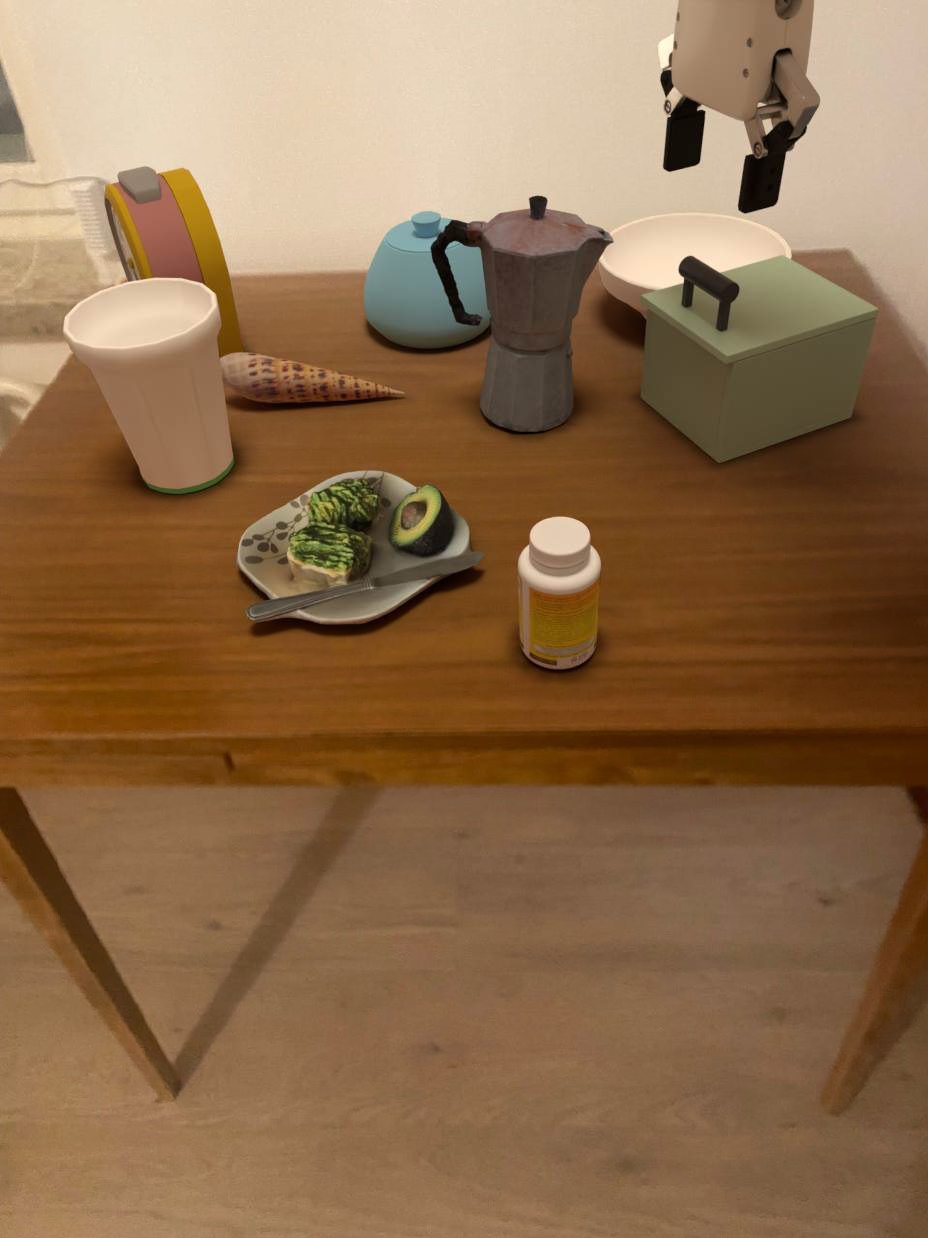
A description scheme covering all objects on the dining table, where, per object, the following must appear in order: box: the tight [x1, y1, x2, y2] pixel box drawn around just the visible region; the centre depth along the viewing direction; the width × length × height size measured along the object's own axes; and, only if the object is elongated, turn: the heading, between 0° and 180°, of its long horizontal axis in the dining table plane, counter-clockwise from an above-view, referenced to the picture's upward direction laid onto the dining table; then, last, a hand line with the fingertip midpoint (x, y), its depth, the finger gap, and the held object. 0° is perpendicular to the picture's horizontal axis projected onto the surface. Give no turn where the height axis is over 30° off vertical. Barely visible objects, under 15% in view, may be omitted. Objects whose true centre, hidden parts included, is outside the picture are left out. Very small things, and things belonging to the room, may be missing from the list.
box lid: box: [641, 255, 880, 364], centre depth 82 cm, size 15×13×5 cm
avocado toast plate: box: [235, 469, 486, 625], centre depth 76 cm, size 19×18×5 cm
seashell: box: [220, 351, 407, 404], centre depth 94 cm, size 4×18×5 cm, turn 85°
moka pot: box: [430, 195, 614, 433], centre depth 86 cm, size 10×15×20 cm, turn 89°
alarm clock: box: [103, 165, 245, 358], centre depth 99 cm, size 15×8×18 cm, turn 27°
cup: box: [62, 278, 235, 495], centre depth 83 cm, size 12×12×15 cm
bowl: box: [597, 212, 793, 321], centre depth 102 cm, size 20×20×7 cm
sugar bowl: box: [363, 210, 491, 350], centre depth 103 cm, size 15×15×12 cm
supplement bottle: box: [517, 516, 602, 670], centre depth 66 cm, size 6×6×10 cm
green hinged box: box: [639, 309, 877, 464], centre depth 87 cm, size 15×13×10 cm
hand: (717, 187), depth 75 cm, fingers open, 9 cm apart
